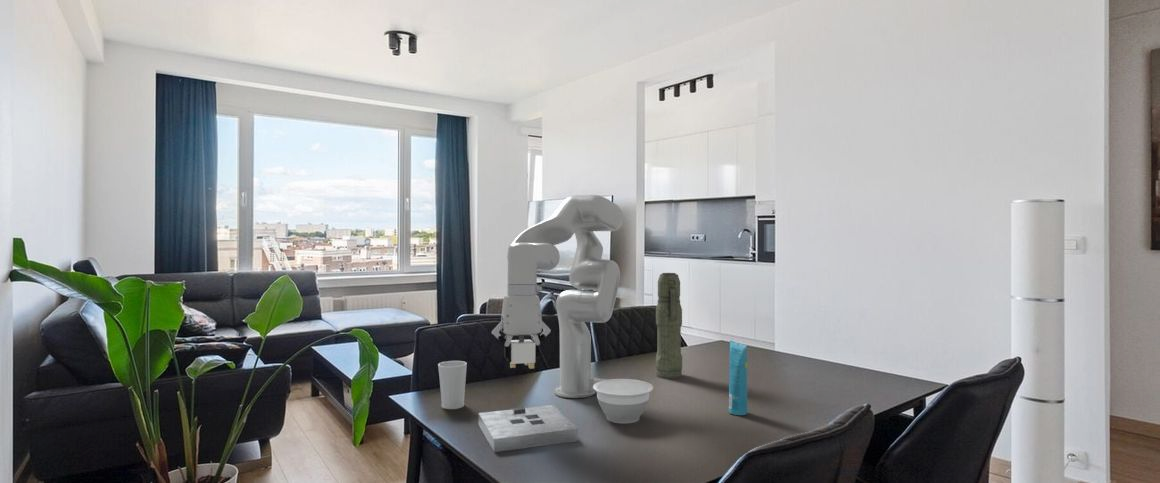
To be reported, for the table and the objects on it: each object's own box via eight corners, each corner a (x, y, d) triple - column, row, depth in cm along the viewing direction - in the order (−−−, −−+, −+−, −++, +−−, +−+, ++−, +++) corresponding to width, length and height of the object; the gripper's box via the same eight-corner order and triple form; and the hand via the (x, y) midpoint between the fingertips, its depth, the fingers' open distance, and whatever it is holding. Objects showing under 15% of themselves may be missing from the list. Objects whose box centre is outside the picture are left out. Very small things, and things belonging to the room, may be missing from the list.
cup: (460, 410, 164) (460, 367, 163) (433, 409, 165) (433, 366, 165) (471, 402, 171) (471, 361, 171) (445, 401, 173) (445, 360, 173)
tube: (754, 415, 158) (754, 344, 158) (740, 418, 156) (740, 345, 156) (735, 408, 165) (735, 339, 164) (721, 410, 163) (721, 341, 162)
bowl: (583, 413, 161) (583, 382, 161) (635, 406, 167) (635, 376, 167) (609, 431, 146) (609, 397, 146) (664, 423, 153) (664, 390, 152)
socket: (553, 416, 159) (552, 402, 158) (577, 441, 140) (577, 425, 140) (478, 424, 152) (478, 410, 152) (494, 452, 133) (493, 435, 133)
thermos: (663, 380, 195) (663, 274, 194) (650, 372, 206) (650, 272, 206) (688, 379, 197) (688, 274, 196) (674, 370, 209) (673, 271, 208)
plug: (529, 364, 157) (530, 334, 157) (535, 368, 151) (535, 338, 151) (507, 365, 155) (507, 335, 155) (512, 369, 149) (512, 339, 149)
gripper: (550, 289, 159) (549, 356, 159) (486, 290, 154) (485, 359, 154) (558, 291, 152) (557, 361, 152) (491, 292, 147) (490, 365, 147)
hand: (521, 359), depth 153 cm, fingers closed on plug, 6 cm apart
